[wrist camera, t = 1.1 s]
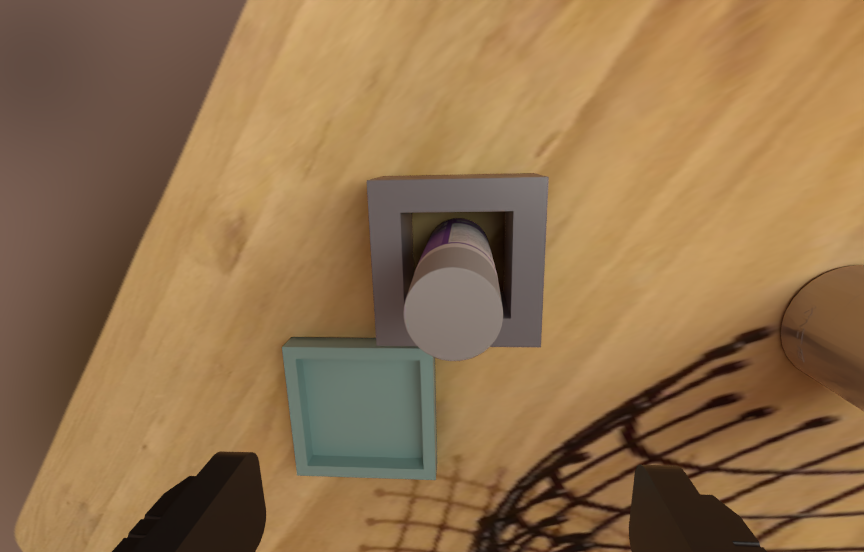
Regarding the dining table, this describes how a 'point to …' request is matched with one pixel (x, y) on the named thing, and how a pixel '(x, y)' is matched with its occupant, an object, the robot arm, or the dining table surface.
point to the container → (454, 294)
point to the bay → (459, 194)
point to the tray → (361, 408)
